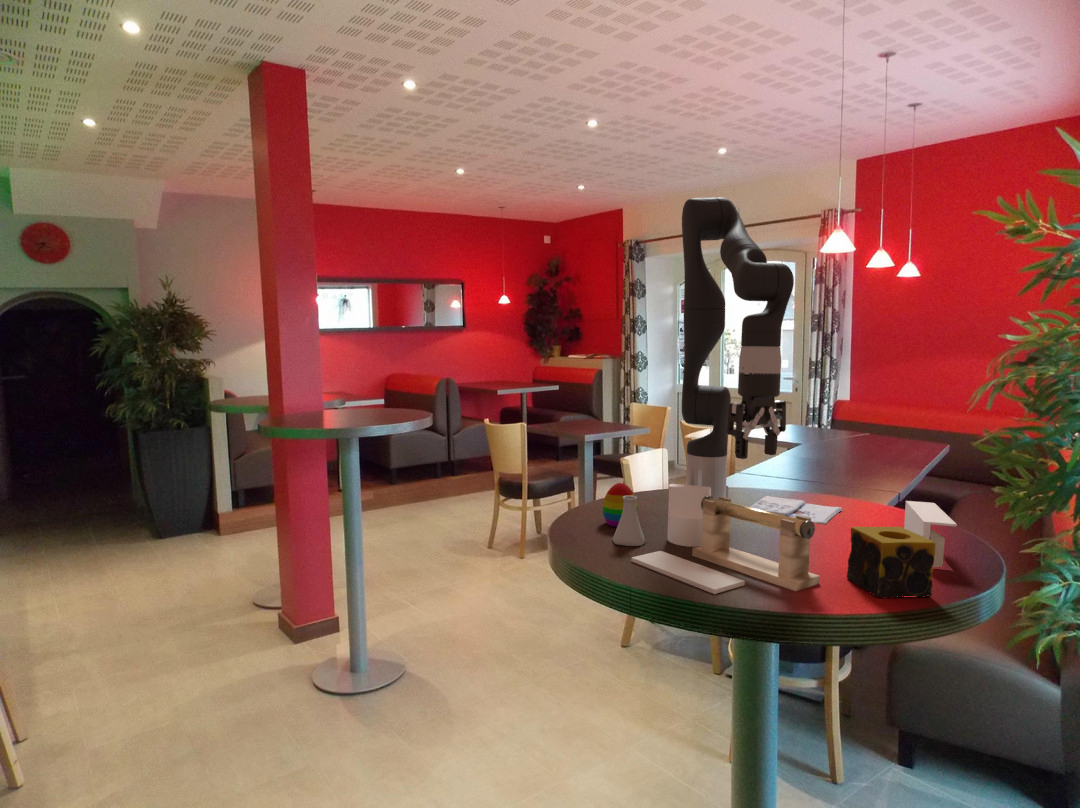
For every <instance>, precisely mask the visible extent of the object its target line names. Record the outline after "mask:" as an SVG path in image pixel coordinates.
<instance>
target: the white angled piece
mask: <svg viewBox="0 0 1080 808" xmlns="http://www.w3.org/2000/svg"><path fill="white" fill-rule="evenodd" d="M904 509H905V510H904V525H903V528H904V529H906V530H908V531H911V532H913V533H916V534H918V535H920V536H922V537H925V538H927V539H929V540H931V541H933V542H935V557H934V563H933V567H942V564H943V558H944V553H945V542H946V538H945V537H944V536H942V535H941V534H939V533H937V532H936V531H935V530H934V529H932V528H931V527H932V525H934V526H946V527H947V526H948V527H957V526H958V524H957V523H956V522H955V521H954V520H953V519H952V518H951V517H950V516H949V515H948V514H946V512H945V511H944V510H942V509H941V508H940V506H939V505H937V504H936V503H934V502H928V501H927V502H926V501H913V500H905V508H904Z"/></svg>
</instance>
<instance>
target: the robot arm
mask: <svg viewBox="0 0 1080 808" xmlns="http://www.w3.org/2000/svg"><path fill="white" fill-rule="evenodd" d="M681 233H682V248H683V249H682V250H683V265H684V266H683V267H684V281H683V282H684V286H683V287H684V288H683V289H684V290H683V292H684V293H683V336H684V337H683V346H684V347H683V350H684V351H683V352H684V356H683V357H684V359H683V375H682V376H683V377H682V389H681V390H682V392H681V415H682V416H681V417H682V420H683V421H684V422H685V423H686V424H689V425H698V426H699V425H700V426H712V431H711V432H710V433H708V434H707V435H704V436H701V437H697V438H694V439H690V440H688V442H687V444H686V469H685V473H686V474H685V485H693V486H706V487H711V497H713V498H715V499H719V497H726V498H729V486H728V485H727V471H728V469H727V468H728V467H727V465H728V463H727V462H728V443H729V442H728V441H729V436H732V437H734V439H735V441H734V447H735V448H734V455H735V458H737V459H741V460H746V459H748V453H749V452H748V451H749V439H748V437H749V435H750V433H751V432H752V430H755V429H756V426H760V427H762V428H763V431H764V432H765V435H764V450H763V451H764V454H765V455H767V456H768V455H769V456H775V455H776V454H777V450H778V436H780V435H781V433H784V432H786V429H787V421H786V420H787V402H786V401H785V400H777V399H776V400H775V398H777V397H779V396H780V393H781V375H782V374H781V373H782V351H781V344H782V343H781V342H782V325H783V321H784V317H785V313H786V311H787V307H788V304H789V301H790V298H791V295H792V292H793V289H794V284H795V278H794V273H793V272H792V269H791V268H790V267H789V266H788V265H787V264H785V263H779V262H768V259H767V256H766V255H765V252H764V251H763V250H762V249H761V247H759V246H758V244H757V243H756V242H755V241H754V240H753V239H752V238H751V236H750V235H749V233H748V231H747V228H746V226H745V224H744V222H743V220H742V218H741V216H740V213H739V212H738V209H737V208H736V206H735V204H734V203H733V202H732V200H730V199H728V198H726V197H719V196H718V197H692V198H691V197H690V198H688V199H687V200H686V201H685V202H684V205H683V206H682V212H681ZM719 240H722V242H721V244H720V247H719V248H720V249H719V253H720V258H721V261H722V263H723V265H724V266H725V267H726V268H727V270H728V271H729V272H730V273H731V277H732V278H731V279H732V284H733V291H734V293H735V295H736V296H737V297H738V298H739V299H742V300H744V301H746V302H747V301H749V302H766V305H765V307H764V309H763V311H761V312H757V313H755V314H754V313H753V314H749V315H746V316H745V317H744V318H742V319H743V320H742V323H741V339H740V340H741V342H740V345H741V346H740V352H739V358H738V359H739V361H738V380H737V381H738V383H737V394H738V395H739V396H741V401H740V402H732V401H731V399H732V397H731V393H730V390H729V388H728V387H726V386H722V385H721V386H720V385H699V380H700V379H699V378H700V374H701V371H702V368H703V366H704V364H705V362H706V360H707V358H708V357H709V356H710V354H711V352H712V351H713V349H714V348H715V347H716V346H717V344H718V342H719V340H720V339H721V337H722V335H723V333H724V332H725V327H726V298H725V296H724V294H723V292H722V290H721V288H720V286H719V284H718V283H717V281H716V280H715V278H714V277H713V275H712V274H711V272H710V271H709V269H708V267H707V265H706V262H705V259H704V255H703V250H702V241H719ZM778 420H779V422H778ZM734 426H735V428H734Z"/></svg>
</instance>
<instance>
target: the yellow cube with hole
mask: <svg viewBox="0 0 1080 808" xmlns="http://www.w3.org/2000/svg"><path fill="white" fill-rule="evenodd" d="M850 545H851V546H850V548H851V549H850V553H849V557H848V560H847V571H846V572H847V573H846V579H847V578H848V579H847V580H849V579H850V580H851V581H850V580H849V581H850V582H852V581H853V582H854V583H856V584H857V586H858V585H859V586H860V588H861V587H862V589H863V590H864V589H865V590H864V591H866V590H867V591H866V592H868V591H869V592H871V593H872V594H874V595H873V596H874V597H875V596H876V597H875V598H877V597H897V596H898V597H902V596H903V597H904V596H927V595H929V596H931V597H932V590H933V589H932V588H933V571H934V570H933V563H934V557H935V542H933V541H931V540H929V539H927V538H925V537H922V536H920V535H918V534H916V533H913V532H911V531H908V530H906V529H904V526H903V527H902V526H851V528H850ZM853 582H852V583H853ZM856 584H855V585H856ZM859 586H858V587H859ZM869 592H868V593H869ZM871 593H870V594H871ZM872 594H871V595H872Z"/></svg>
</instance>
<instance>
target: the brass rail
mask: <svg viewBox="0 0 1080 808" xmlns="http://www.w3.org/2000/svg"><path fill="white" fill-rule="evenodd" d="M705 499H707V500H711V501H715V502H716V511H715V513H717V514H721V515H725V516H729V517H731V519H737V520H740V521H744V522H748V523H750V524H751V523H752V524H754V525H758V526H763V527H766V528H771V529H774V530H777V531H780V526H781V519H787V520H791V521H795V522H796V524H795V535H799V536H802V537H803V538H806V539H810V540H811V538H812V537H813V536H814V535H815V530H816V526H815V523H813V522H812V521H809V520H805V521H804V520H800V519H796V518H792V517H788V516H784V515H780V514H776V513H772V512H768V511H764V510H759V509H755V508H751V506H746V505H742V504H740V503H735V502H732V501H731V502H727V501H723V500H719V499H715V498H713V497H711V496H705V497H704V498H703V499H702V501H701V508H702V510H703V500H705Z"/></svg>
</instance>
